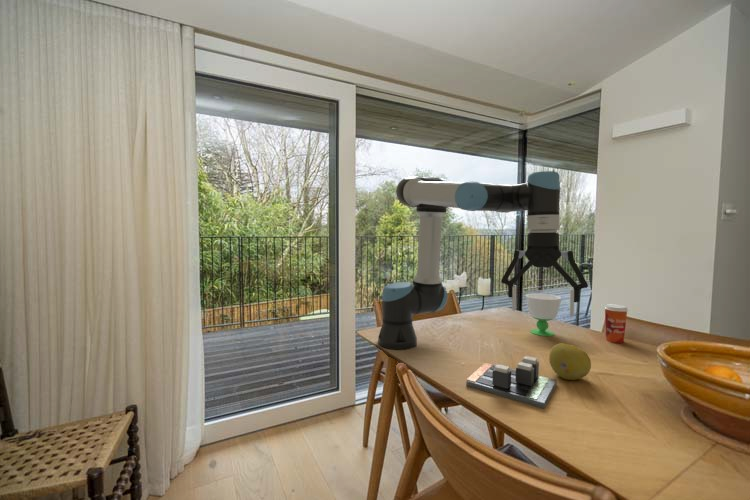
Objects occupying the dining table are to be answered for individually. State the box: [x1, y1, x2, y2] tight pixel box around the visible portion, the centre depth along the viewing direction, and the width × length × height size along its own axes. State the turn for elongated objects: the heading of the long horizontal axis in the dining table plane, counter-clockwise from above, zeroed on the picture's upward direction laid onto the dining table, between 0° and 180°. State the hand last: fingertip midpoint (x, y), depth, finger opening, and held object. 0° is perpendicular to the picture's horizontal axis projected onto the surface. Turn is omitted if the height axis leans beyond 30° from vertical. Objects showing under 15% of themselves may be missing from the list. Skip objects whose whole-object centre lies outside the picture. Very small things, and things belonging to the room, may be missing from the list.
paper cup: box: [604, 303, 629, 344], centre depth 131 cm, size 8×8×14 cm
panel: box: [465, 362, 557, 410], centre depth 94 cm, size 20×16×2 cm
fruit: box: [548, 342, 592, 381], centre depth 99 cm, size 10×11×10 cm
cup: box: [525, 292, 562, 337], centre depth 142 cm, size 14×14×16 cm
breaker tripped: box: [493, 363, 511, 389], centre depth 91 cm, size 4×3×5 cm
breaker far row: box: [521, 355, 540, 379], centre depth 96 cm, size 4×3×5 cm
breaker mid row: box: [515, 361, 534, 386], centre depth 92 cm, size 4×3×5 cm
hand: (541, 312), depth 88 cm, fingers open, 13 cm apart
